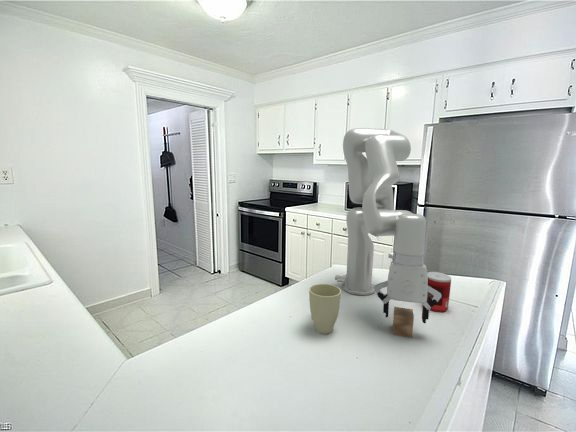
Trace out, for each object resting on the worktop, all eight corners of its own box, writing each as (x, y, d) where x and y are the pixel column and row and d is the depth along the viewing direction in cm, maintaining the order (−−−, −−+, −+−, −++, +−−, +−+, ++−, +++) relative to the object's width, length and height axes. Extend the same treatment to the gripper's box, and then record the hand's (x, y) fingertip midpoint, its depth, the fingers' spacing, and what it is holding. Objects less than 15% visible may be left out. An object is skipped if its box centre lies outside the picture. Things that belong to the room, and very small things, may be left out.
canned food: (442, 302, 102) (445, 272, 100) (452, 313, 94) (456, 280, 92) (419, 300, 102) (421, 271, 101) (427, 311, 95) (430, 279, 93)
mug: (347, 327, 85) (349, 288, 83) (327, 342, 78) (328, 299, 76) (317, 314, 92) (318, 278, 90) (296, 326, 85) (297, 287, 83)
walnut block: (392, 334, 82) (394, 314, 81) (392, 325, 86) (394, 306, 85) (412, 337, 80) (413, 317, 79) (411, 328, 85) (412, 309, 84)
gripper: (374, 259, 79) (372, 319, 81) (446, 266, 73) (441, 330, 75) (376, 252, 86) (373, 307, 88) (441, 258, 80) (437, 317, 82)
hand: (404, 318), depth 82 cm, fingers open, 9 cm apart
